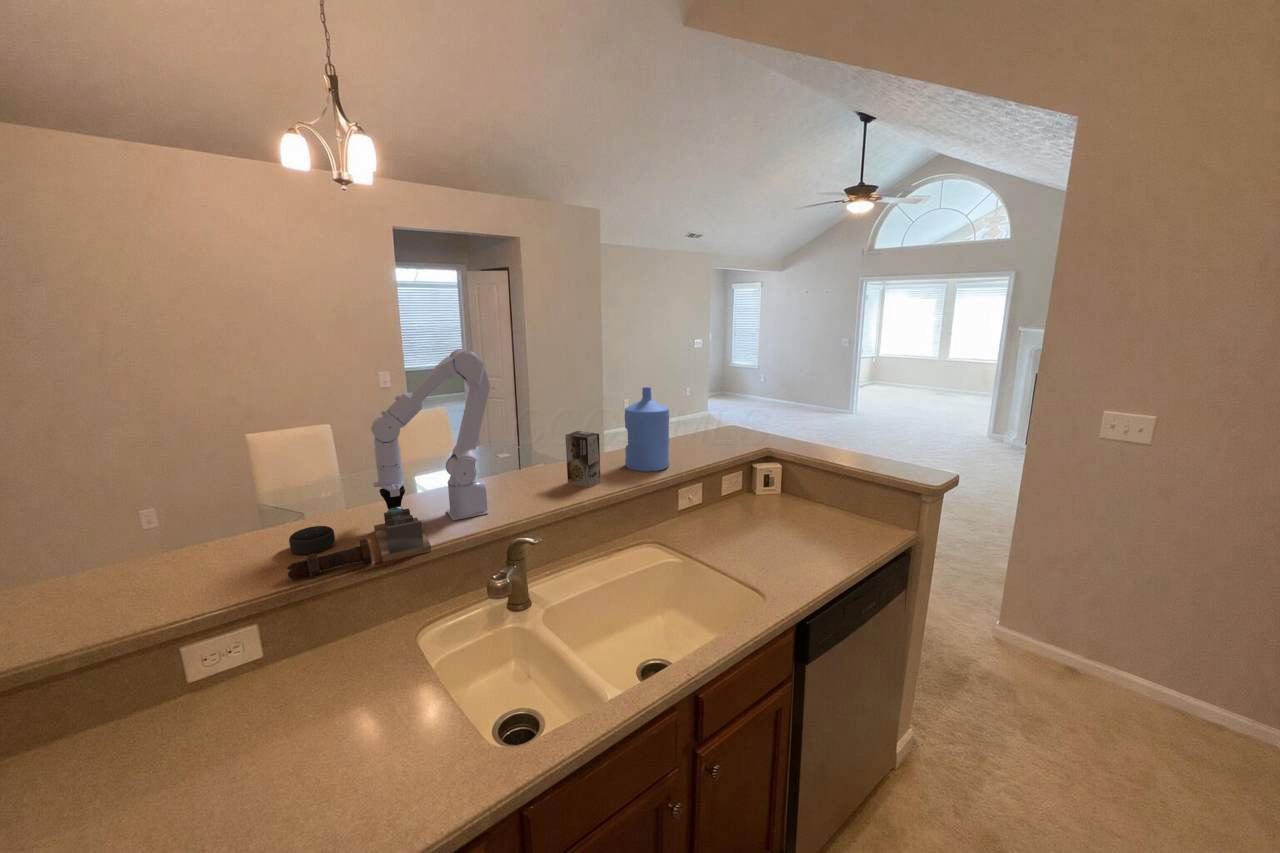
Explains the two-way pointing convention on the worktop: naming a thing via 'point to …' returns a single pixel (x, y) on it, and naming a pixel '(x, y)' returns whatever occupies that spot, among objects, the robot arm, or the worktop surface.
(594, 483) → the coffee box
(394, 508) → the shaft
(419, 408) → the robot arm
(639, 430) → the water jug
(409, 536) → the bearing rig
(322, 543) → the smart speaker
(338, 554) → the bolt
